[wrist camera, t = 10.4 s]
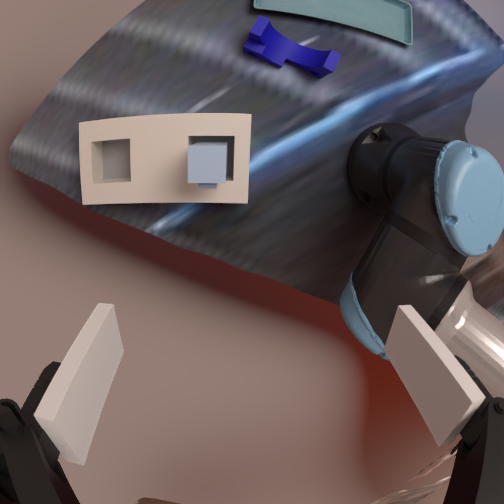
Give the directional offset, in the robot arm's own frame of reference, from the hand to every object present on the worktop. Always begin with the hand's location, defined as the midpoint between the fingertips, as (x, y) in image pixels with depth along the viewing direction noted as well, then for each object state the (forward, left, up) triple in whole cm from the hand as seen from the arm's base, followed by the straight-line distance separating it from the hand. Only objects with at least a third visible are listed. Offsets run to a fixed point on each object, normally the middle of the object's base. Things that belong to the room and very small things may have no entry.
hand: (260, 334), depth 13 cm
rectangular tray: (-14, -32, -35) cm, 50 cm away
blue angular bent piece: (-6, -21, -35) cm, 41 cm away
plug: (+4, -5, -34) cm, 34 cm away
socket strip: (+11, -5, -35) cm, 37 cm away
